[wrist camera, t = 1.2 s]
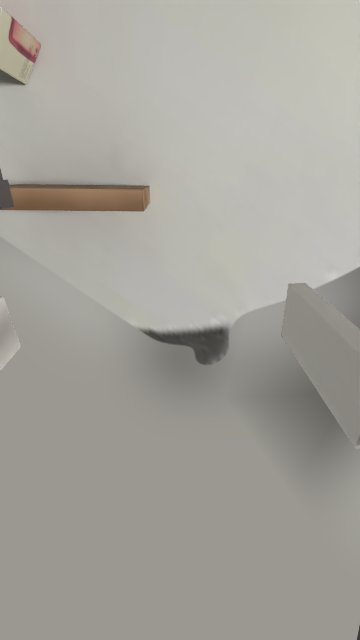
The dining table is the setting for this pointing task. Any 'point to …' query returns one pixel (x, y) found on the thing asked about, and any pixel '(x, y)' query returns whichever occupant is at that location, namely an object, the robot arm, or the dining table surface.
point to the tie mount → (79, 197)
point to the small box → (16, 48)
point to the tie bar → (5, 194)
